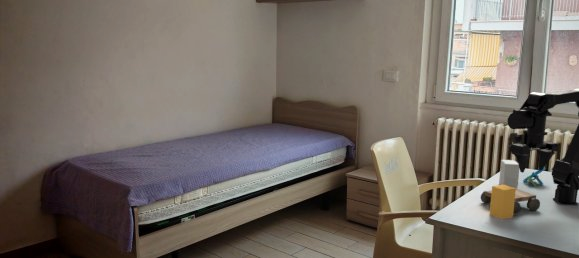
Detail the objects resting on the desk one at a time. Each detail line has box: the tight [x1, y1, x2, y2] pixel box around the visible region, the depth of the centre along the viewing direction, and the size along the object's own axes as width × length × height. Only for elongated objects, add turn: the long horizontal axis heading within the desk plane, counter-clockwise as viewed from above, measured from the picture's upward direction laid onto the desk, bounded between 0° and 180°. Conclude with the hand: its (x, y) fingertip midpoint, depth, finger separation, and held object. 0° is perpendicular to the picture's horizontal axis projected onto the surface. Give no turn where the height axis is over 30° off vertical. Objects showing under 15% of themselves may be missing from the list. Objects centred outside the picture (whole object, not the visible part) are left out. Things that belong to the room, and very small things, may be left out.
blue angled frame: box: [522, 166, 546, 187], centre depth 210 cm, size 11×6×10 cm
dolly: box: [480, 188, 541, 215], centre depth 180 cm, size 14×14×5 cm
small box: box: [498, 159, 520, 189], centre depth 205 cm, size 8×6×10 cm
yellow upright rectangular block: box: [489, 184, 516, 220], centre depth 170 cm, size 6×5×10 cm
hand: (531, 171), depth 179 cm, fingers open, 9 cm apart
